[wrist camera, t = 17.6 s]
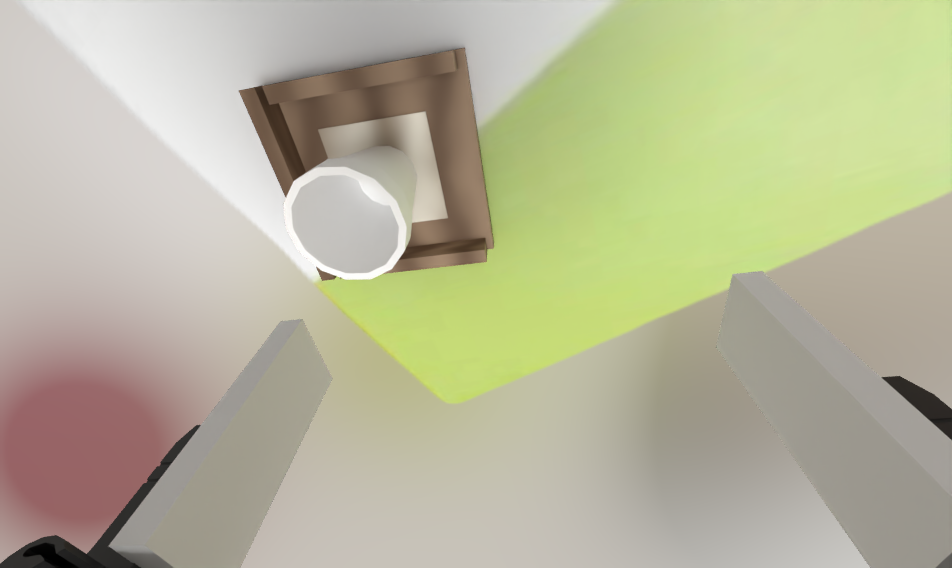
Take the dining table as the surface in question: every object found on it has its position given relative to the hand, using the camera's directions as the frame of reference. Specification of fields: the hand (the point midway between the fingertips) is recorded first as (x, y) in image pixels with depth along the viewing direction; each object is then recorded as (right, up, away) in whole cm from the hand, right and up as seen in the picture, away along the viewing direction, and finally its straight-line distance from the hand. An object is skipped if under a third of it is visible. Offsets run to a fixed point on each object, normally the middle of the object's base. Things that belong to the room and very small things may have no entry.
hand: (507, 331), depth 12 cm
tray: (-10, +14, +29) cm, 34 cm away
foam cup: (-10, +13, +28) cm, 33 cm away
